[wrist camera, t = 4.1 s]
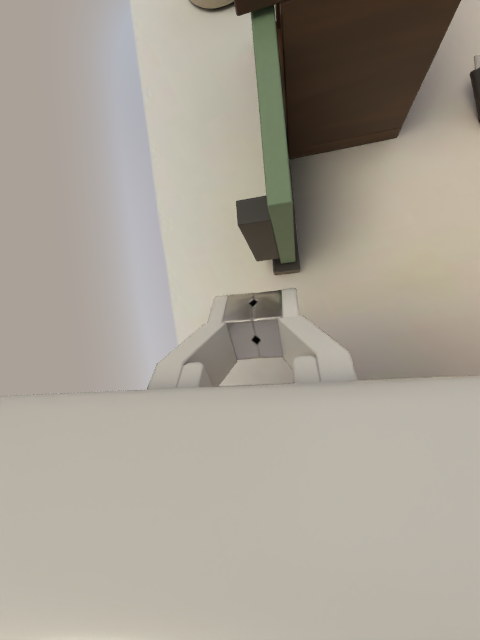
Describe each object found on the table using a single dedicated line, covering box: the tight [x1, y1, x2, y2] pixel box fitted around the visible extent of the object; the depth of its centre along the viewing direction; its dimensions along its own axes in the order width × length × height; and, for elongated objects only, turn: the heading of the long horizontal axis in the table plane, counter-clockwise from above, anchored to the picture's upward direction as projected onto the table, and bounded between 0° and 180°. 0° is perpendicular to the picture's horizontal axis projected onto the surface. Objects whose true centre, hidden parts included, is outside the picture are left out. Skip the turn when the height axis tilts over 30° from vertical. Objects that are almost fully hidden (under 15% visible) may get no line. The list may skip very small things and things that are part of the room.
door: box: [236, 5, 295, 263], centre depth 19 cm, size 12×3×10 cm, turn 4°
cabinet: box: [234, 0, 461, 275], centre depth 19 cm, size 24×11×13 cm, turn 4°
